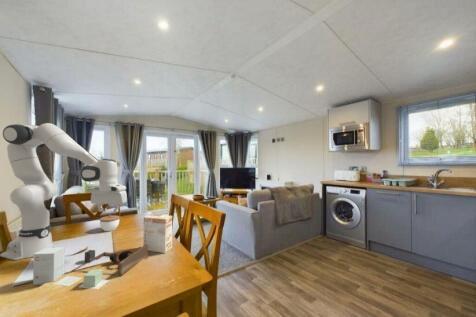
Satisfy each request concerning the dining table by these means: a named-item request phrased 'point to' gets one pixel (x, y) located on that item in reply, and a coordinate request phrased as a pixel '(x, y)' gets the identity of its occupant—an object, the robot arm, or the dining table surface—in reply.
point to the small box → (48, 265)
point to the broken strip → (71, 280)
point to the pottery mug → (119, 256)
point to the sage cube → (93, 278)
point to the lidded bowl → (109, 222)
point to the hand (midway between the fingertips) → (108, 211)
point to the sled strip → (123, 265)
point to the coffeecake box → (158, 233)
